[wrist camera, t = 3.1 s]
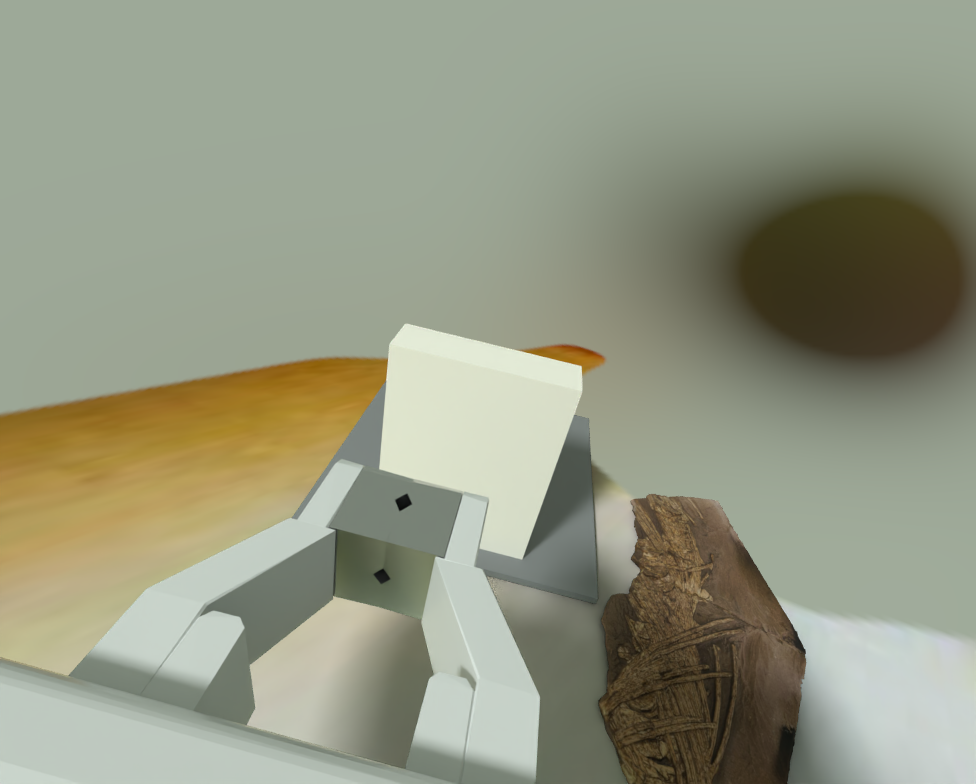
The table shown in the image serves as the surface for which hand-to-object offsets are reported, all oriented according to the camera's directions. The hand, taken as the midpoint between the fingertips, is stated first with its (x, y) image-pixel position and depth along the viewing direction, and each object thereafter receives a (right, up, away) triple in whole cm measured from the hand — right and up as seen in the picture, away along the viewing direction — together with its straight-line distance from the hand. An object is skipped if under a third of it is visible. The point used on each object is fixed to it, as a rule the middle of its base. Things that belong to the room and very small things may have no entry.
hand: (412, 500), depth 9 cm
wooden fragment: (+13, -12, +16) cm, 24 cm away
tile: (-1, -6, +19) cm, 20 cm away
